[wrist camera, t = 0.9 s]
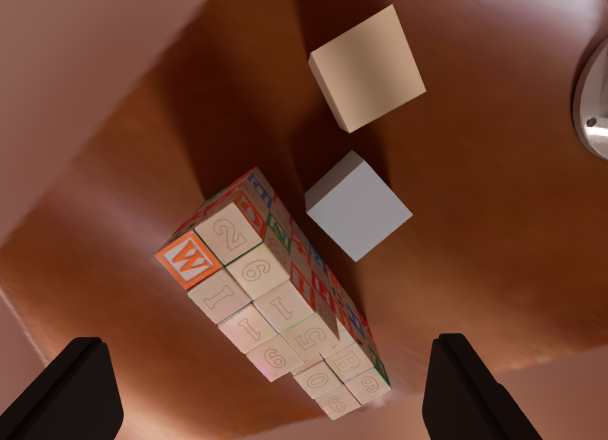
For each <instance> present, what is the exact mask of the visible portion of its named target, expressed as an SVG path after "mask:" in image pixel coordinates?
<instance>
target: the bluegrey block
mask: <svg viewBox="0 0 608 440" xmlns="http://www.w3.org/2000/svg"><path fill="white" fill-rule="evenodd" d="M305 204H306V213H307V214H308V215H309V216H310V217H311V218H312V219H313V220H314V221H315V222H316V223H317V224H318V225H319V226H320V227H321V228H322V229H323V230H324V231H325V232H326V233H327V234H328V235H329V236H330V237H331V238H332V239H333V240H334V241H335V242H336V243H337V244H338V245H339V246H340V247H341V248H342V249H343V250H344V251H345V252H346V253H347V254H348V255H349V256H350V257H351V258H352V259H353V260H354V261H355V262H357V261H358V260H359V259H360V258H361V257H363V256H364V255H365V254H366V253H368V252H369V251H370V250H371V249H372V248H374V247H375V246H376V245H377V244H378V243H380V242H381V241H382V240H383V239H384V238H386V237H387V236H388V235H389V234H390V233H392V232H393V231H394V230H395V229H396V228H398V227H399V226H400V225H401V224H403V223H404V222H405V221H406V220H407V219H409V218H410V217H411V216H412V213H411V212H410V211H409V210H408V209H407V208H406V207H405V205H404V204H403V203H402V202H401V201H400V200H399V199H398V198H397V196H396V195H395V194H394V193H393V192H392V191H391V190H390V188H389V187H388V186H387V185H386V184H385V183H384V182H383V181H382V179H381V178H380V177H379V176H378V175H377V174H376V173H375V172H374V170H373V169H372V168H371V167H370V166H369V165H368V164H367V162H366V161H365V160H364V159H362V158H361V157H360V156H359V155H358V154H356V153H355V152H354V151H353V150H351V151H350V152H349V153H348V154H347V155H346V156H345V157H344V158H343V159H341V160H340V161H339V162H338V163H337V164H336V165H335V166H334V167H333V168H332V169H331V170H330V171H329V172H327V173H326V174H325V175H324V176H323V177H322V178H321V179H320V180H319V181H318V182H317V183H316V184H314V185H313V186H312V187H311V188H310V189H309V190H308V191H307V192H306V193H305Z"/></svg>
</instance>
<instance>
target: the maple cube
mask: <svg viewBox="0 0 608 440" xmlns="http://www.w3.org/2000/svg"><path fill="white" fill-rule="evenodd" d="M308 64H309V66H310V68H311V70H312V72H313V74H314V76H315V78H316V80H317V82H318V84H319V86H320V89H321V91H322V93H323V95H324V97H325V99H326V101H327V103H328V105H329V107H330V109H331V111H332V113H333V115H334V117H335V119H336V121H337V123H338V125H339V127H340V128H341V129H343V130H345V131H347V132H348V133H351V132H353V131H355V130H356V129H358V128H360V127H362V126H364V125H366V124H367V123H369V122H371V121H373V120H375V119H376V118H378V117H380V116H382V115H384V114H386V113H387V112H389V111H391V110H393V109H395V108H397V107H398V106H400V105H402V104H404V103H406V102H407V101H409V100H411V99H413V98H415V97H417V96H418V95H420V94H422V93H424V92H426V90H425V87H424V84H423V82H422V79H421V77H420V74H419V72H418V69H417V66H416V64H415V61H414V59H413V56H412V53H411V51H410V48H409V46H408V43H407V40H406V38H405V35H404V33H403V30H402V28H401V25H400V22H399V20H398V17H397V15H396V12H395V9H394V7H393V4H392V5H390V6H389V7H387V8H385V9H384V10H382V11H380V12H379V13H377V14H375V15H374V16H372V17H370V18H368V19H367V20H365V21H363V22H362V23H360V24H358V25H357V26H355V27H353V28H352V29H350V30H348V31H347V32H345V33H343V34H342V35H340V36H338V37H337V38H335V39H333V40H332V41H330V42H328V43H327V44H325V45H323V46H322V47H320V48H318V49H317V50H315V51H313V52H311V54H310V58H309V61H308Z"/></svg>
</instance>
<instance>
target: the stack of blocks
mask: <svg viewBox="0 0 608 440" xmlns="http://www.w3.org/2000/svg"><path fill="white" fill-rule="evenodd" d="M155 257H156V258H157V259H158V260H159V261H160V262H161V263H162V265H163V266H164V267H165V268H166V269H167V270H168V271H169V272H170V273H171V274H172V275H173V277H174V278H175V279H176V280H177V281H178V282H179V283H180V284H181V285H182V286H183V288H184V289H186V290H187V294H188V296H189V297H190V298H191V299H192V300H193V301H194V302H195V303H196V304H197V305H198V306H199V307H200V308H201V309H202V311H203V312H204V313H205V314H206V315H207V316H208V317H209V318H210V319H211V320H212V321H213V322H214V323H215V324H218V328H219V329H220V330H221V331H222V332H223V333H224V334H225V335H226V336H227V337H228V338H229V339H230V341H231V342H232V343H233V344H234V345H235V346H236V347H237V348H238V349H239V350H240V351H241V352H242V353H244V354H246V356H247V358H248V359H249V360H250V361H251V362H252V363H253V364H254V365H255V366H256V367H257V368H258V369H259V370H260V371H261V372H262V373H263V374H264V375H265V377H266V378H267V379H268V380H269V381H271V382H272V381H274V380H275V379H277V378H279V377H281V376H282V375H284V374H286V373H288V372H289V371H290V372H291V374H292V375H293V377H294V378H295V380H296V381H297V382H298V383H299V384H300V385H301V386H302V388H303V389H304V390H305V391H306V392H307V393H308V394H309V396H310V397H311V398H312V399H315V401H316V402H317V403H318V404H319V406H320V407H321V408H322V409H323V410H324V411H325V413H327V415H328V416H329V417H330V418H331V419H332V420H334V419H336V418H338V417H340V416H342V415H344V414H346V413H348V412H350V411H352V410H354V409H356V408H358V407H360V406H361V405H362V404H364V403H366V402H368V401H370V400H372V399H374V398H376V397H378V396H380V395H382V394H384V393H386V392H388V391H390V390H391V389H392V388H391V385H390V382H389V379H388V376H387V373H386V371H385V368H384V365H383V363H382V362H381V360H380V356H379V353H378V350H377V347H376V345H375V342H374V341H373V337H372V334H371V331H370V328H369V326H368V323H367V322H366V321H365V319H364V318H363V317H362V315H361V314H360V313H359V311H358V310H357V309H356V307H355V304H354V303H353V302H352V300H351V299H350V297H349V296H348V294H347V293H346V292H345V290H344V289H343V288H342V286H341V285H340V283H339V282H338V280H337V279H336V277H335V276H334V275H333V273H332V272H331V270H330V269H329V268H328V266H327V265H326V264H325V263H324V262H323V260H322V259H321V258H320V256H319V255H318V253H317V252H316V250H315V249H314V248H313V246H312V245H311V243H310V242H309V241H308V240H307V238H306V237H305V235H304V234H303V232H302V231H301V230H300V228H299V227H298V225H297V224H296V223H295V221H294V220H293V219H292V216H291V214H290V213H289V211H288V210H287V209H286V207H285V206H284V204H283V203H282V202H281V200H280V199H279V197H278V196H277V194H276V193H275V192H274V190H273V188H272V187H271V185H270V184H269V183H268V181H267V180H266V178H265V177H264V175H263V174H262V173H261V171H260V170H259V168H258V167H257V166H256V167H254V168H253V169H251V170H250V171H248V172H247V173H245V174H244V175H242V176H241V177H240V178H238V179H237V180H235V181H234V182H232V183H231V184H230V185H229V186H227V187H226V188H224V189H223V190H221V191H220V192H218V193H217V194H216V195H214V196H213V197H211V198H210V199H208V200H206V201H205V202H204V203H203V204H202V205H201V206H200V208H199V209H198V210H197V211H196V212H195V213H194V214H193V215H192V216H191V217H190V218H189V219H188V220H187V221H186V222H185V223H184V224H182V225H181V227H180V228H179V229H177V231H176V232H174V234H173V235H172V237H171V238H170V239H169V240H168V241H167V242H166V243H165V244H164V245H163V246H162V247H161V248H160V249H159V251H158V252H157V253H156V254H155Z"/></svg>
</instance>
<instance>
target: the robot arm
mask: <svg viewBox="0 0 608 440" xmlns="http://www.w3.org/2000/svg"><path fill="white" fill-rule="evenodd" d="M573 120H574V125H575V129H576V132H577V134H578V136H579V138H580V140H581V142H582V143H583V144H584V145H585V147H586V148H587V149H588V150H589V151H591V152H592V153H593V154H595V155H596V156H598V157H600V158H603V159H605V160H608V37H607V38H606V39H605V40H604V41H603V42H602V43H601V44H600V45H599V46H598V47H597V49H596V50H595V52H594V53H593V54H592V56H591V57H590V58H589V60H588V62H587V64H586V65H585V67H584V69H583V71H582V73H581V75H580V78H579V81H578V83H577V86H576V90H575V95H574V100H573ZM422 415H423V420H424V423H425V426H426V428H427V431H428V433H429V436H430V438H431V440H543V439H542V438H541V437H540V435H539V434H538V432H537V431H536V430H535V428H534V427H533V426H532V424H531V423H530V422H529V420H528V419H527V417H526V416H525V415H524V413H523V412H522V411H521V409H520V408H519V406H518V405H517V403H516V402H515V401H514V399H513V398H512V397H511V395H510V394H509V392H508V391H507V390H506V389H505V388H504V387H503V385H501V384H499V383H497V381H496V380H495V379H494V377H493V376H492V374H491V373H490V372H489V370H488V369H487V367H486V366H485V364H484V363H483V362H482V360H481V359H480V357H479V356H478V355H477V353H476V352H475V350H474V349H473V348H472V346H471V345H470V343H469V342H468V340H467V339H466V338H465V336H464V335H463V334H461V333H444V334H440V335H439V338H438V339H434V340H433V343H432V349H431V356H430V362H429V368H428V375H427V381H426V387H425V394H424V400H423V406H422ZM123 418H124V412H123V408H122V403H121V399H120V395H119V391H118V387H117V383H116V379H115V375H114V371H113V366H112V362H111V358H110V354H109V350H108V346H107V344H106V343H104V342H102V340H101V339H100V338H99V337H77V338H75V339H73V340H72V341H71V342H70V343H69V344H68V345H67V346H66V347H65V348H64V349H63V350H62V352H61V353H60V354H59V355H58V356H57V357H56V358H55V359H54V360H53V361H52V362H51V363H50V364H49V365H48V366H47V367H46V368H45V369H44V370H43V372H42V373H41V374H40V375H39V376H38V377H37V378H36V379H35V380H34V381H33V382H32V383H31V384H30V385H29V387H27V388H26V389H25V390H24V392H23V393H22V394H21V395H20V396H19V397H18V398H17V399H16V400H15V401H14V402H13V403H12V404H11V405H10V406H9V407H8V408H7V410H6V411H5V412H4V413H3V414H2V415H1V416H0V440H114V438H115V437H116V435H117V433H118V431H119V429H120V427H121V425H122V422H123Z"/></svg>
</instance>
